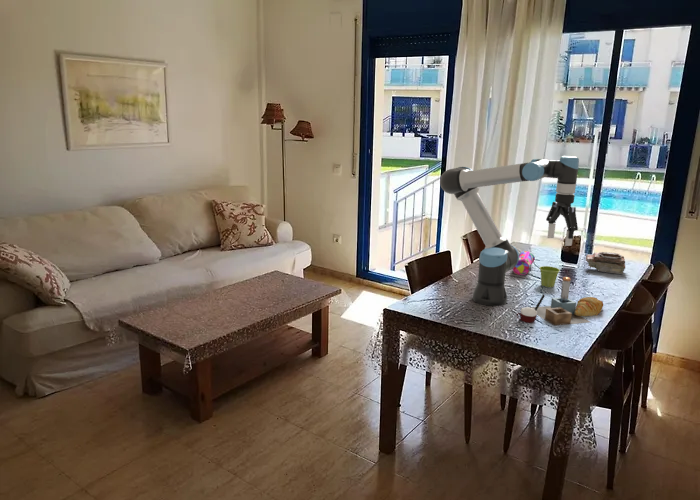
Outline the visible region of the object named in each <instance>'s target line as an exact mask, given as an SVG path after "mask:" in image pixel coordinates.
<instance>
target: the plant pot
mask: <svg viewBox="0 0 700 500" xmlns="http://www.w3.org/2000/svg"><path fill="white" fill-rule="evenodd" d="M539 271H540V286H542V287H545V288H553V287H555V284H556V280H557V277H558V274H559V273H560V271H561V270H560V269H559V268H558V267H555V266H550V265H549V266H548V265H543V266H539Z"/></svg>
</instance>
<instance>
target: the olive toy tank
mask: <svg viewBox="0 0 700 500" xmlns="http://www.w3.org/2000/svg"><path fill="white" fill-rule="evenodd" d="M585 261H586V262H587V265H588V266H587V267H589V268H593V269H596V270H597V271H598V272H602V273H603V272H604V273H610V274H615V275H616V274H617V275H623V274H624V272H625V270H626V261H625V257H624V255H622V254H620V253H616V252H607V251H600V252H594V253H593V254H586V256H585Z"/></svg>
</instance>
